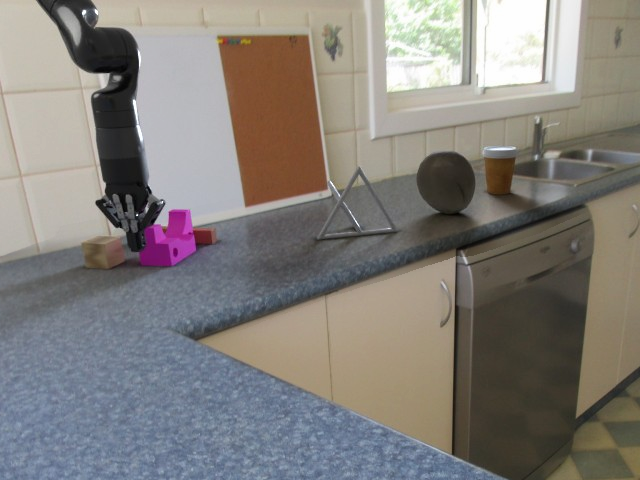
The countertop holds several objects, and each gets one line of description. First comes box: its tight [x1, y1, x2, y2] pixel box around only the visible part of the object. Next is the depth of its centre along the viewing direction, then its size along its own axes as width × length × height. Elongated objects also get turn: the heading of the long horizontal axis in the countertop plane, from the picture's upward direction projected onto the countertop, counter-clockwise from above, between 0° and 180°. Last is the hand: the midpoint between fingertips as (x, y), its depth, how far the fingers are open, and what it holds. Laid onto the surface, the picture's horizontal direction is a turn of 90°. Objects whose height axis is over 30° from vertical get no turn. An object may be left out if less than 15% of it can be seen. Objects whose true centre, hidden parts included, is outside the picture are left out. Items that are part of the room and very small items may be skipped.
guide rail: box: [161, 225, 218, 245], centre depth 141 cm, size 16×2×3 cm, turn 76°
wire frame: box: [316, 165, 399, 241], centre depth 145 cm, size 18×13×16 cm
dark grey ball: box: [415, 150, 476, 215], centre depth 158 cm, size 14×14×15 cm
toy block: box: [138, 208, 197, 267], centre depth 131 cm, size 15×6×8 cm, turn 171°
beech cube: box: [80, 235, 126, 270], centre depth 126 cm, size 5×5×5 cm
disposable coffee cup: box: [482, 145, 519, 195], centre depth 181 cm, size 10×10×12 cm
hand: (138, 250), depth 119 cm, fingers closed
